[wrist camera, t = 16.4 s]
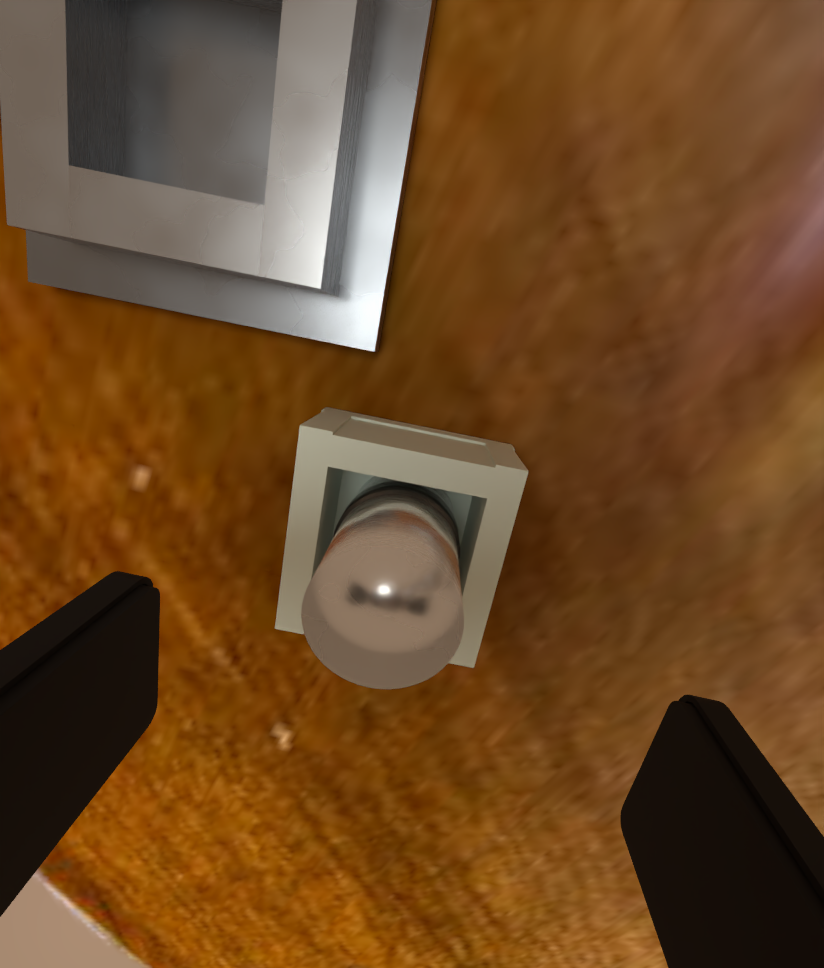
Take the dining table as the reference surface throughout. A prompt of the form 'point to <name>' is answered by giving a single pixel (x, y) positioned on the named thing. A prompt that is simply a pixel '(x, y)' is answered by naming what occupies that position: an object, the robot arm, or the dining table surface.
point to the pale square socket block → (413, 459)
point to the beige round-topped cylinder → (388, 588)
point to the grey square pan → (215, 153)
